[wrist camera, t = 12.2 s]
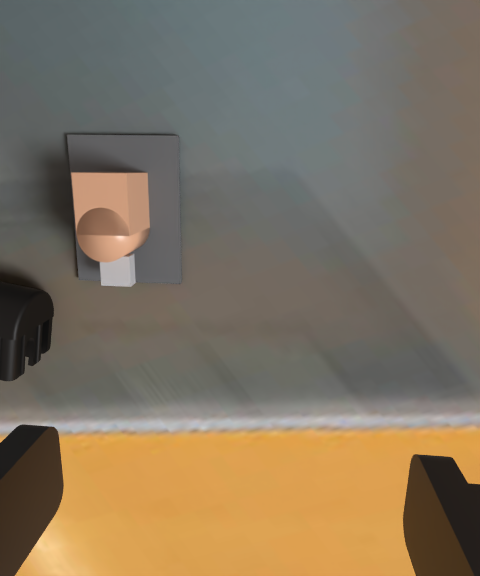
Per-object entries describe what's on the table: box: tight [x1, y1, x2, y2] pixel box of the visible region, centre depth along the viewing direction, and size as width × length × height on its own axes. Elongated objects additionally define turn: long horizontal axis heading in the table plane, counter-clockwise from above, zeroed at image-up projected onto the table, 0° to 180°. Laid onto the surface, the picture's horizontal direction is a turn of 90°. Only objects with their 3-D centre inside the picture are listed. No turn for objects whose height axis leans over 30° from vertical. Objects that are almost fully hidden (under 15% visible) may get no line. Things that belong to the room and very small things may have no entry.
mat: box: [67, 135, 182, 284], centre depth 37 cm, size 12×9×1 cm
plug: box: [71, 172, 150, 287], centre depth 35 cm, size 9×4×5 cm, turn 0°
